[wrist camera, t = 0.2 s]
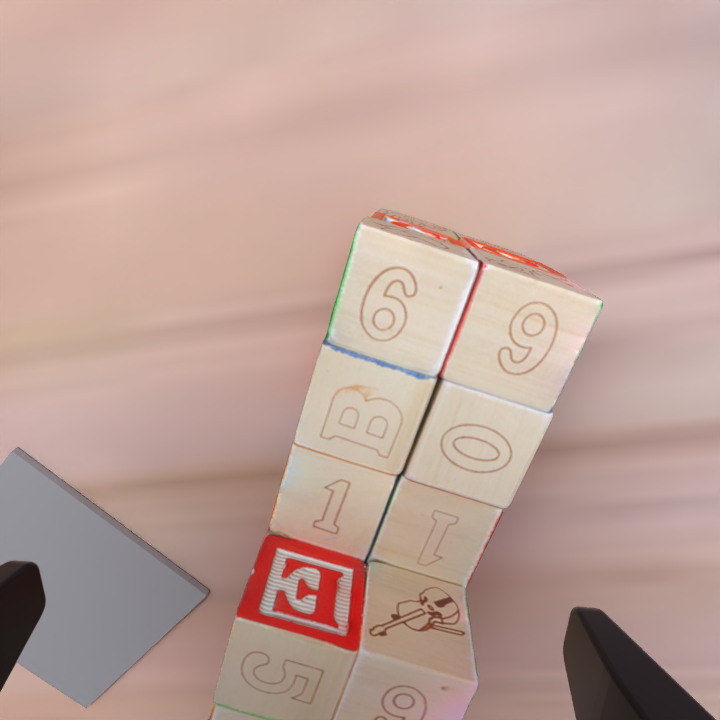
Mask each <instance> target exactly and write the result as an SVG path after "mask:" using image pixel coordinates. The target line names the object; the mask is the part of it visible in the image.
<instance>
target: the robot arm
mask: <svg viewBox="0 0 720 720" xmlns="http://www.w3.org/2000/svg"><path fill="white" fill-rule="evenodd" d="M45 604H46V596H45V592H44V587H43V583H42V579H41V574H40V570H39V567H38V565H37V564H36V563H34V562H31V561H19V560H12V561H8V562H6V563H4V564H2V565H0V691H1V690H2V688H3V686H4V684H5V682H6V680H7V679H8V677H9V675H10V673H11V671H12V669H13V668H14V666H15V664H16V662H17V660H18V658H19V656H20V655H21V653H22V651H23V649H24V647H25V645H26V644H27V642H28V640H29V638H30V636H31V634H32V633H33V631H34V629H35V627H36V625H37V623H38V621H39V620H40V618H41V616H42V614H43V611H44V609H45ZM563 655H564V662H565V667H566V672H567V677H568V681H569V686H570V691H571V696H572V701H573V706H574V711H575V715H576V720H716V719H715V718H714V717H713V716H711V715H710V714H709V713H708V712H707V711H706V710H705V709H704V708H703V707H702V706H701V705H700V704H699V703H698V702H697V701H696V700H695V699H694V698H693V697H692V696H691V695H690V694H689V693H688V692H686V691H685V690H684V689H683V688H682V687H681V686H680V685H679V684H678V683H677V682H676V681H675V680H674V679H673V678H672V677H671V676H670V675H669V674H668V673H667V672H666V671H665V670H664V669H663V668H661V667H660V666H659V665H658V664H657V663H656V662H655V661H654V660H653V659H652V658H651V657H650V656H649V655H648V654H647V653H646V652H645V651H644V650H643V649H642V648H641V647H640V646H639V645H637V644H636V643H635V642H634V641H633V640H632V639H631V638H630V637H629V636H628V635H627V634H626V633H625V632H624V631H623V630H622V629H621V628H620V627H619V626H618V625H617V624H616V623H615V622H614V621H612V620H611V619H610V618H609V617H608V616H607V615H606V614H605V613H604V612H603V611H601V610H600V609H597V608H587V607H575V608H573V609H572V611H571V614H570V618H569V622H568V627H567V631H566V635H565V640H564V645H563Z"/></svg>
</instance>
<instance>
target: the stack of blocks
mask: <svg viewBox="0 0 720 720" xmlns="http://www.w3.org/2000/svg"><path fill="white" fill-rule="evenodd" d="M602 306H603V301H602V300H601V299H599V298H598V297H596V296H594V295H593V294H591V293H589V292H588V291H586V290H584V289H583V288H581V287H579V286H578V285H576V284H574V283H573V282H571V281H569V280H568V278H566V277H565V276H564V275H562V274H560V273H558V272H557V271H555V270H553V269H551V268H549V267H547V266H545V265H543V264H542V263H539V262H536V261H534V260H532V259H531V258H529V257H527V256H525V255H522V254H520V253H517V252H514V251H511V250H508V249H505V248H502V247H499V246H496V245H493V244H490V243H487V242H484V241H480V240H477V239H474V238H471V237H468V236H465V235H462V234H459V233H456V232H453V231H451V230H448V229H446V228H443V227H440V226H437V225H434V224H431V223H428V222H425V221H422V220H419V219H416V218H413V217H410V216H406V215H403V214H400V213H396V212H392V211H389V210H385V209H380V210H379V211H378V212H375V213H374V215H373V216H372V217H368V216H367V217H366V218H364V219H363V220H362V221H361V222H360V223H359V225H358V227H357V230H356V233H355V236H354V239H353V243H352V247H351V250H350V254H349V257H348V260H347V264H346V267H345V271H344V274H343V278H342V281H341V285H340V289H339V292H338V295H337V298H336V301H335V305H334V308H333V312H332V315H331V320H330V324H329V328H328V332H327V335H326V337H325V339H324V341H323V343H322V346H321V349H320V352H319V354H318V358H317V361H316V365H315V368H314V372H313V375H312V379H311V382H310V386H309V389H308V393H307V396H306V399H305V403H304V406H303V409H302V413H301V416H300V420H299V423H298V426H297V430H296V434H295V438H294V441H293V444H292V447H291V450H290V453H289V455H288V460H287V463H286V466H285V469H284V473H283V477H282V480H281V484H280V488H279V492H278V495H277V499H276V502H275V506H274V510H273V513H272V517H271V521H270V526H269V529H268V531H267V533H266V534H265V536H264V539H263V542H262V545H261V547H260V550H259V553H258V556H257V559H256V561H255V564H254V566H253V569H252V571H251V574H250V577H249V580H248V583H247V585H246V588H245V590H244V593H243V596H242V598H241V601H240V604H239V607H238V609H237V612H236V615H235V618H234V622H233V626H232V629H231V633H230V637H229V640H228V644H227V648H226V651H225V655H224V659H223V662H222V666H221V670H220V674H219V678H218V682H217V685H216V689H215V692H214V695H213V699H214V705H213V708H212V710H211V713H210V716H209V719H208V720H462V719H463V717H464V715H465V713H466V711H467V709H468V707H469V705H470V703H471V701H472V698H473V696H474V695H475V693H476V691H477V689H478V687H479V680H478V675H477V667H476V660H475V654H474V648H473V640H472V633H471V626H470V618H469V611H468V603H467V597H466V591H465V589H466V587H467V585H468V583H469V581H470V579H471V577H472V575H473V573H474V571H475V569H476V567H477V565H478V563H479V561H480V559H481V557H482V554H483V552H484V550H485V548H486V546H487V544H488V542H489V540H490V538H491V536H492V534H493V532H494V530H495V528H496V526H497V524H498V522H499V520H500V517H501V515H502V513H503V510H504V509H505V508H507V507H509V505H510V504H511V502H512V500H513V498H514V496H515V494H516V492H517V490H518V488H519V485H520V483H521V481H522V479H523V477H524V475H525V473H526V471H527V469H528V467H529V465H530V463H531V461H532V459H533V457H534V455H535V453H536V451H537V449H538V447H539V445H540V443H541V441H542V439H543V436H544V434H545V432H546V430H547V428H548V426H549V424H550V422H551V420H552V418H553V411H552V407H553V406H554V404H555V403H556V401H557V399H558V397H559V395H560V393H561V391H562V389H563V387H564V385H565V383H566V381H567V379H568V377H569V375H570V373H571V370H572V368H573V366H574V364H575V362H576V360H577V358H578V356H579V355H580V353H581V351H582V349H583V346H584V344H585V341H586V339H587V337H588V336H589V334H590V332H591V330H592V328H593V326H594V324H595V321H596V319H597V317H598V315H599V313H600V311H601V309H602Z"/></svg>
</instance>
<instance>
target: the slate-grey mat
mask: <svg viewBox="0 0 720 720" xmlns="http://www.w3.org/2000/svg"><path fill="white" fill-rule="evenodd" d="M12 560H19V561H31V562H34V563H36V564H37V565H38V567H39V570H40V574H41V579H42V583H43V587H44V592H45V596H46V604H45V609H44V611H43V614H42V616H41V618H40V620H39V621H38V623H37V625H36V627H35V629H34V631H33V633H32V634H31V636H30V638H29V640H28V642H27V644H26V645H25V647H24V649H23V651H22V653H21V655H20V656H19V658H18V660H17V663H18V664H20V665H21V666H23V667H24V668H26V669H27V670H29V671H30V672H32V673H33V674H35V675H36V676H38V677H39V678H41V679H42V680H44V681H45V682H47V683H49V684H50V685H52V686H53V687H55V688H56V689H58V690H59V691H61V692H62V693H64V694H65V695H67V696H68V697H70V698H71V699H73V700H74V701H76V702H77V703H79V704H80V705H82V706H83V707H85V708H87V707H88V706H89V705H90V704H91V703H92V702H94V701H95V700H96V699H97V698H98V697H99V696H100V695H101V694H102V693H103V692H104V691H105V690H106V689H107V688H109V687H110V686H111V685H112V684H113V683H114V682H115V681H116V680H117V679H118V678H119V677H120V676H121V675H122V674H124V673H125V672H126V671H127V670H128V669H129V668H130V667H131V666H132V665H133V664H134V663H135V662H136V661H137V660H139V659H140V658H141V657H142V656H143V655H144V654H145V653H146V652H147V651H148V650H149V649H150V648H151V647H152V646H154V645H155V644H156V643H157V642H158V641H159V640H160V639H161V638H162V637H163V636H164V635H165V634H166V633H167V632H169V631H170V630H171V629H172V628H173V627H174V626H175V625H176V624H177V623H178V622H179V621H180V620H181V619H182V618H183V617H185V616H186V615H187V614H188V613H189V612H190V611H191V610H192V609H193V608H194V607H195V606H196V605H197V604H198V603H200V602H201V601H202V600H203V599H204V598H205V597H206V596H207V594H208V592H209V589H207V588H206V587H205V586H203V585H202V584H201V583H199V582H198V581H197V580H195V579H194V578H193V577H191V576H190V575H188V574H187V573H186V572H184V571H183V570H182V569H180V568H179V567H178V566H176V565H175V564H174V563H172V562H171V561H170V560H168V559H167V558H166V557H164V556H163V555H162V554H160V553H159V552H158V551H156V550H155V549H154V548H152V547H151V546H150V545H148V544H147V543H146V542H144V541H143V540H142V539H140V538H139V537H137V536H136V535H135V534H133V533H132V532H131V531H129V530H128V529H127V528H125V527H124V526H123V525H121V524H120V523H119V522H117V521H116V520H115V519H113V518H112V517H111V516H109V515H108V514H107V513H105V512H104V511H103V510H101V509H100V508H99V507H97V506H96V505H95V504H93V503H92V502H91V501H89V500H88V499H86V498H85V497H84V496H82V495H81V494H80V493H78V492H77V491H76V490H74V489H73V488H72V487H70V486H69V485H68V484H66V483H65V482H64V481H62V480H61V479H60V478H58V477H57V476H56V475H54V474H53V473H52V472H50V471H49V470H48V469H46V468H45V467H44V466H42V465H41V464H40V463H38V462H37V461H36V460H34V459H33V458H31V457H30V456H29V455H27V454H26V453H25V452H23V451H22V450H21V449H19V448H16V449H15V450H13V451H12V452H11V453H10V455H9V456H8V457H7V458H6V460H5V461H4V462H3V464H2V465H1V466H0V565H2V564H4V563H6V562H8V561H12Z"/></svg>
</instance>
